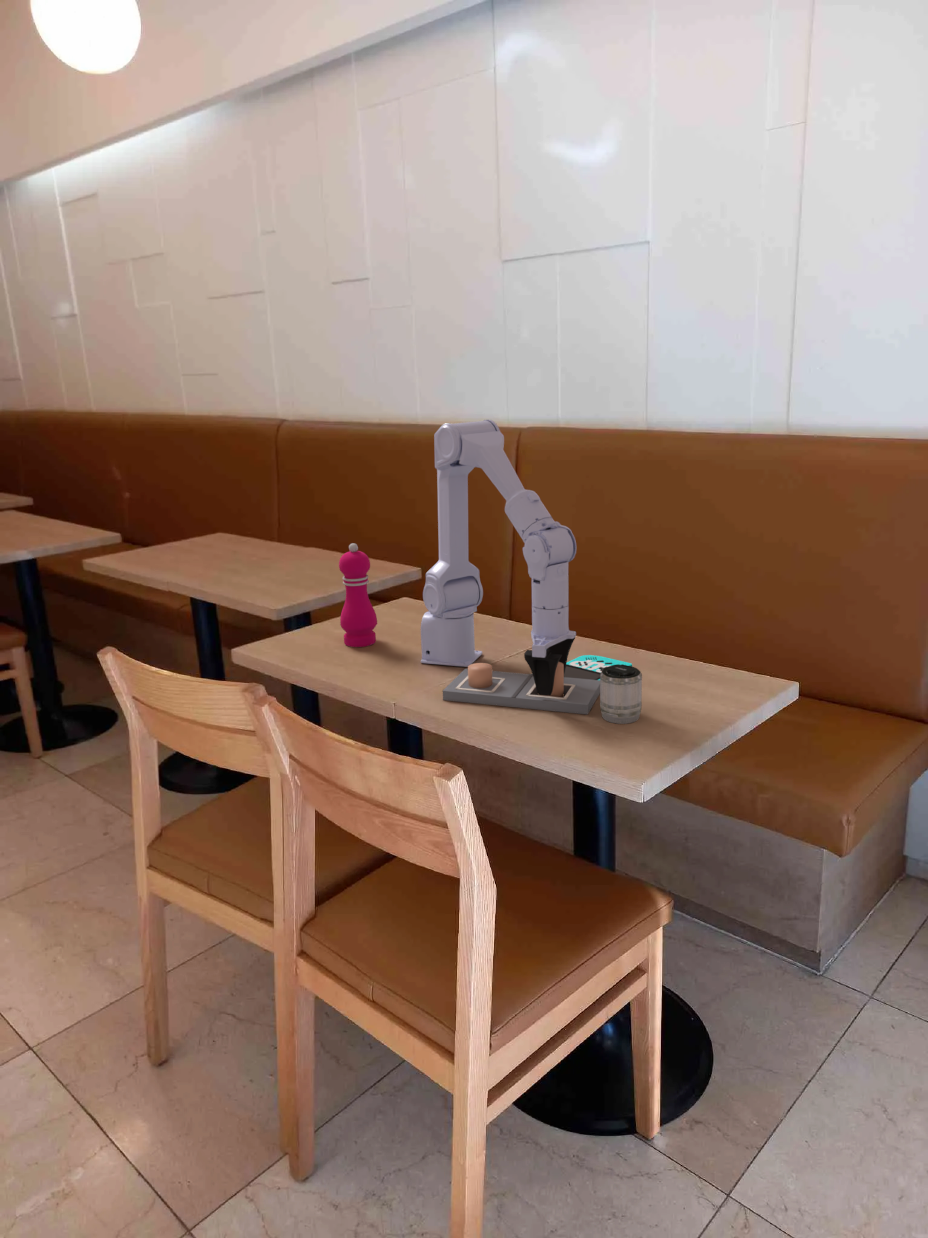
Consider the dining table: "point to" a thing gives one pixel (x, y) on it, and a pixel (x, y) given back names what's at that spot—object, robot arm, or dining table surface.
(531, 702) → the board
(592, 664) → the handheld game console
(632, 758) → the dining table surface
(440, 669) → the dining table surface
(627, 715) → the camera lens
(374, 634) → the pepper mill
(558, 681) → the terracotta pin
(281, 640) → the dining table surface
